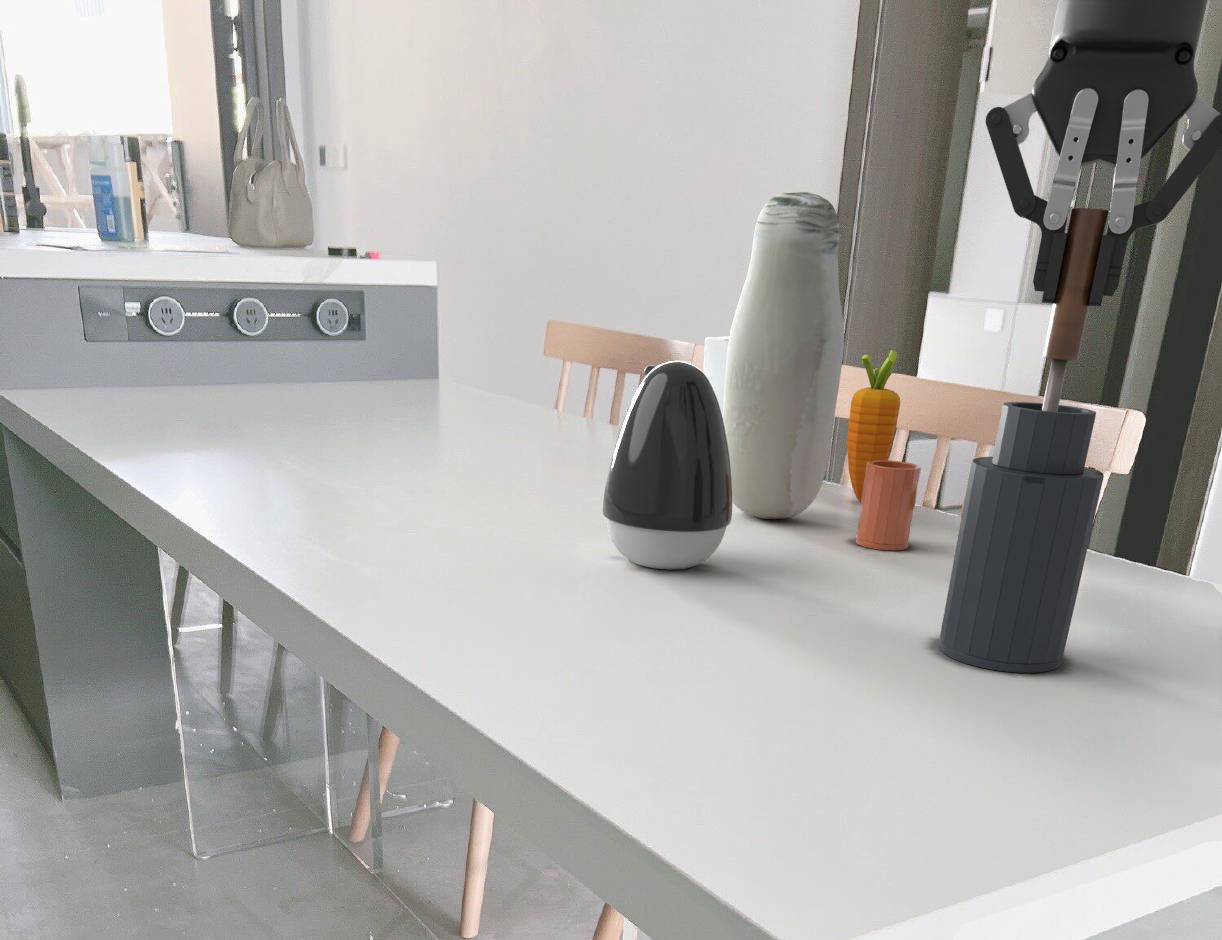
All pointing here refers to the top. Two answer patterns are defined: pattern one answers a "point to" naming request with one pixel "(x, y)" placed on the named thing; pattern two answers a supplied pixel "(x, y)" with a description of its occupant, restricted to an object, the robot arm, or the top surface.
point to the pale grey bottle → (785, 359)
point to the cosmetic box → (716, 365)
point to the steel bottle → (1022, 542)
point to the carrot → (871, 422)
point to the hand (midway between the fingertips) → (1070, 303)
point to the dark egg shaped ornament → (670, 472)
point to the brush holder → (887, 504)
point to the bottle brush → (1072, 297)
